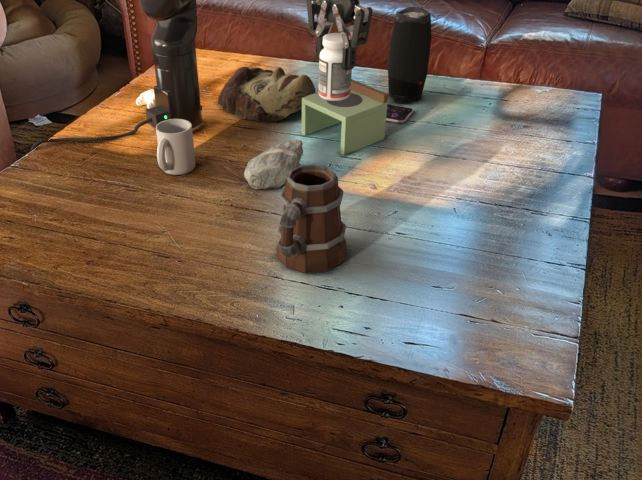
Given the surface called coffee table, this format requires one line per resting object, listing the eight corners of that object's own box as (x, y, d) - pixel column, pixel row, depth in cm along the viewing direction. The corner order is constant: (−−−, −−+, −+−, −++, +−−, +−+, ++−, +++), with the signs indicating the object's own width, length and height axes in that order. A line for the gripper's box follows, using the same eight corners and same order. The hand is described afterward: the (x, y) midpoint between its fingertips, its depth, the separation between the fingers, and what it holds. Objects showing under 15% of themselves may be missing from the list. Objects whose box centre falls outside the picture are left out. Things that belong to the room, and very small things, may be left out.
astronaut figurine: (128, 103, 177) (127, 91, 175) (165, 88, 184) (164, 76, 182) (152, 112, 173) (151, 99, 171) (189, 96, 180) (188, 84, 177)
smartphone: (354, 98, 174) (414, 108, 169) (354, 100, 175) (414, 111, 170) (342, 110, 170) (403, 121, 164) (342, 112, 170) (403, 123, 165)
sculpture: (281, 88, 157) (198, 64, 169) (282, 131, 163) (202, 105, 175) (338, 61, 169) (256, 41, 181) (336, 102, 175) (258, 80, 187)
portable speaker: (430, 101, 174) (441, 15, 161) (393, 106, 172) (401, 19, 159) (415, 88, 180) (424, 4, 167) (380, 93, 178) (386, 8, 165)
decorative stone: (290, 194, 142) (290, 166, 138) (240, 190, 144) (238, 162, 140) (303, 164, 151) (303, 137, 147) (256, 160, 153) (254, 133, 149)
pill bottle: (354, 91, 130) (358, 33, 123) (345, 103, 126) (348, 44, 120) (323, 87, 132) (325, 30, 125) (313, 99, 128) (315, 40, 121)
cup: (202, 163, 153) (198, 122, 147) (177, 184, 146) (171, 142, 140) (173, 157, 155) (168, 116, 149) (147, 177, 148) (140, 135, 142)
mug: (296, 230, 132) (296, 152, 122) (357, 247, 127) (362, 168, 117) (252, 274, 122) (248, 193, 112) (316, 294, 117) (318, 212, 107)
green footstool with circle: (344, 155, 154) (346, 109, 147) (301, 133, 162) (301, 89, 156) (384, 138, 159) (388, 93, 153) (341, 119, 168) (343, 75, 161)
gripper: (390, -40, 111) (380, 71, 123) (328, -58, 120) (324, 48, 131) (353, -32, 108) (347, 81, 119) (293, -50, 117) (292, 57, 128)
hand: (335, 63), depth 125 cm, fingers closed on pill bottle, 5 cm apart
